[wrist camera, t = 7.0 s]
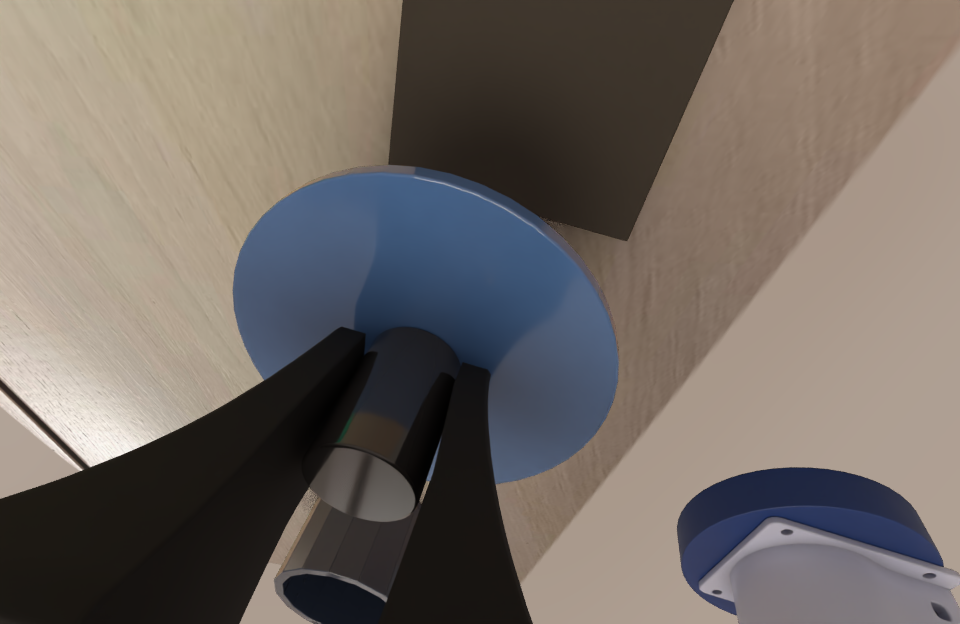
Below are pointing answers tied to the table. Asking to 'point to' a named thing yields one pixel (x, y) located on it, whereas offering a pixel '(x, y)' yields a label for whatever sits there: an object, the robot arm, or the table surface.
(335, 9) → the table surface
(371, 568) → the pot
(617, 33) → the mat
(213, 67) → the table surface
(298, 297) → the lid
